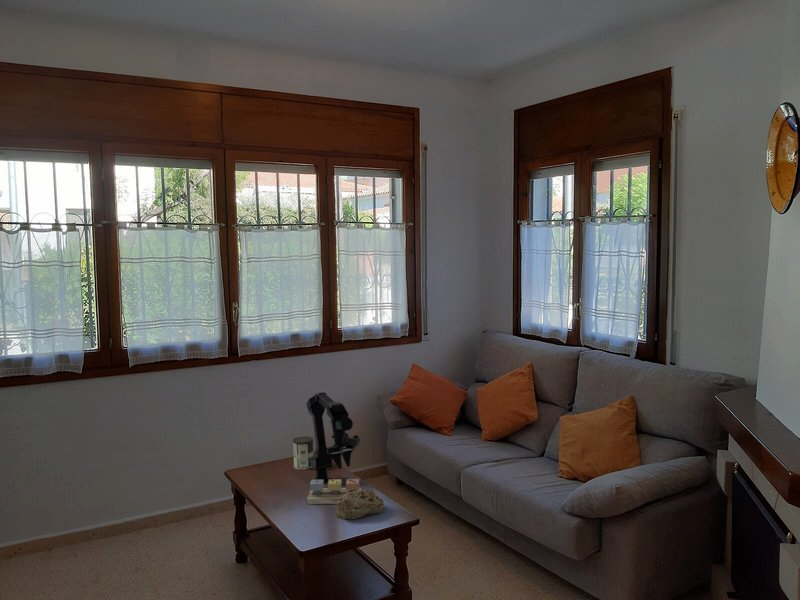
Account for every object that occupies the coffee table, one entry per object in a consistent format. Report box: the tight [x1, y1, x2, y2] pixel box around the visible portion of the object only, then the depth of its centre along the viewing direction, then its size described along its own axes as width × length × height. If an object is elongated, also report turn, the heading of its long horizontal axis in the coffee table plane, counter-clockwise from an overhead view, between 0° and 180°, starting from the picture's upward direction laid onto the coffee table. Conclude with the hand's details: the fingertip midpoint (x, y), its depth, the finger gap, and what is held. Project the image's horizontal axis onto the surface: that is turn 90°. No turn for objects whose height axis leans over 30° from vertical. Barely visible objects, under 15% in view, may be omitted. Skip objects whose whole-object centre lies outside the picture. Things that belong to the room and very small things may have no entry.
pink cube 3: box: [345, 478, 360, 492], centre depth 290 cm, size 6×6×6 cm
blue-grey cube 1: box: [309, 479, 325, 495], centre depth 290 cm, size 6×6×6 cm
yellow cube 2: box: [327, 478, 343, 495], centre depth 290 cm, size 6×6×6 cm
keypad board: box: [306, 487, 363, 505], centre depth 290 cm, size 12×23×2 cm, turn 89°
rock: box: [335, 489, 385, 520], centre depth 274 cm, size 21×14×10 cm
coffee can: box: [292, 436, 314, 470], centre depth 333 cm, size 10×10×14 cm
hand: (344, 467), depth 287 cm, fingers open, 9 cm apart
